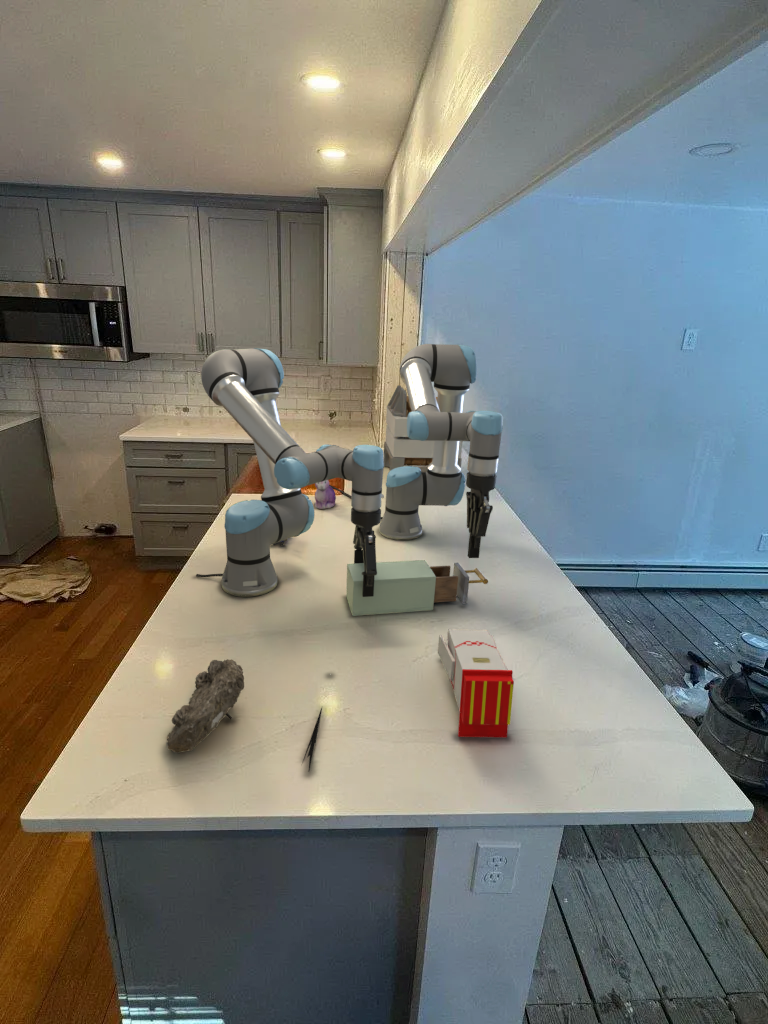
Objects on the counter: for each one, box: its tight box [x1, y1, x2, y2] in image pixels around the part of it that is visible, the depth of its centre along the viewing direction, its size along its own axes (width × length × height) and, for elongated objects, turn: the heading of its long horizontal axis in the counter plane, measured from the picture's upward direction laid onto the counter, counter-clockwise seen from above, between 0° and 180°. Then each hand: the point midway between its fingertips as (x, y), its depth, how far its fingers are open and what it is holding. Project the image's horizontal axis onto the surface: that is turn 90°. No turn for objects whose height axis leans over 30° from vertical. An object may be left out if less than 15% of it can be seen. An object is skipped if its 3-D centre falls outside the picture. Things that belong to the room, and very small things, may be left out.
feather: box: [301, 673, 332, 771], centre depth 108 cm, size 2×28×2 cm
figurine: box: [314, 480, 337, 510], centre depth 222 cm, size 9×10×15 cm
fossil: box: [166, 658, 245, 754], centre depth 106 cm, size 22×10×15 cm
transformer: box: [383, 384, 464, 471], centre depth 268 cm, size 34×33×41 cm
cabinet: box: [345, 559, 436, 617], centre depth 151 cm, size 22×10×10 cm, turn 102°
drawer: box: [429, 562, 489, 604], centre depth 154 cm, size 26×9×8 cm, turn 102°
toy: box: [437, 628, 515, 738], centre depth 117 cm, size 12×13×30 cm
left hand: (363, 583), depth 149 cm, fingers open, 13 cm apart
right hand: (473, 556), depth 153 cm, fingers closed
